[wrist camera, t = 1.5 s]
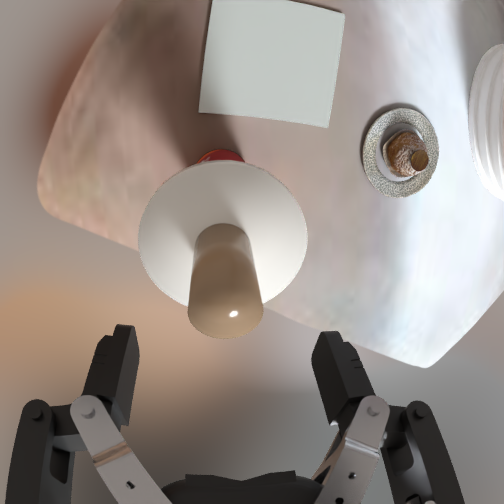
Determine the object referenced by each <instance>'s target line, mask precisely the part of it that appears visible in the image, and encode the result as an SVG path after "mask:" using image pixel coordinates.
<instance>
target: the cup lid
mask: <svg viewBox="0 0 504 504" xmlns="http://www.w3.org/2000/svg"><path fill="white" fill-rule="evenodd" d="M138 246H139V253H140V257H141V260H142V263H143V265H144V267H145V270H146V271H147V273H148V275H149V276H150V278H151V279H152V281H153V282H154V283H155V284H156V285H157V287H158V288H160V289H161V290H162V291H163V292H164V293H165V294H167V295H168V296H169V297H171V298H172V299H174V300H175V301H177V302H179V303H181V304H183V305H186V306H188V317H189V320H190V322H191V324H192V325H193V326H194V327H195V328H196V329H197V330H198V331H200V332H201V333H203V334H205V335H207V336H210V337H214V338H220V339H229V338H236V337H240V336H242V335H245V334H247V333H249V332H250V331H252V330H253V329H254V328H255V327H256V326H257V325H258V324H259V323H260V321H261V319H262V316H263V303H265V302H266V301H268V300H270V299H272V298H273V297H275V296H276V295H277V294H279V293H280V292H281V291H282V290H283V289H285V288H286V287H287V286H288V285H289V283H290V282H291V281H292V280H293V279H294V277H295V276H296V274H297V273H298V271H299V269H300V267H301V265H302V263H303V260H304V257H305V254H306V248H307V227H306V222H305V219H304V215H303V213H302V211H301V208H300V206H299V204H298V203H297V201H296V200H295V198H294V197H293V195H292V194H291V192H290V191H289V190H288V188H287V187H286V186H285V185H284V184H283V183H282V182H281V181H280V180H278V179H277V178H276V177H275V176H274V175H272V174H270V173H269V172H267V171H265V170H264V169H261V168H259V167H257V166H255V165H251V164H248V163H244V162H240V161H233V160H214V161H206V162H202V163H198V164H195V165H192V166H190V167H187V168H185V169H183V170H181V171H179V172H178V173H176V174H174V175H173V176H172V177H170V178H169V179H168V180H166V181H165V182H164V183H163V184H162V185H161V186H160V187H159V188H158V189H157V191H156V192H155V194H154V195H153V196H152V198H151V199H150V201H149V203H148V205H147V207H146V209H145V211H144V213H143V216H142V219H141V222H140V226H139V232H138Z"/></svg>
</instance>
